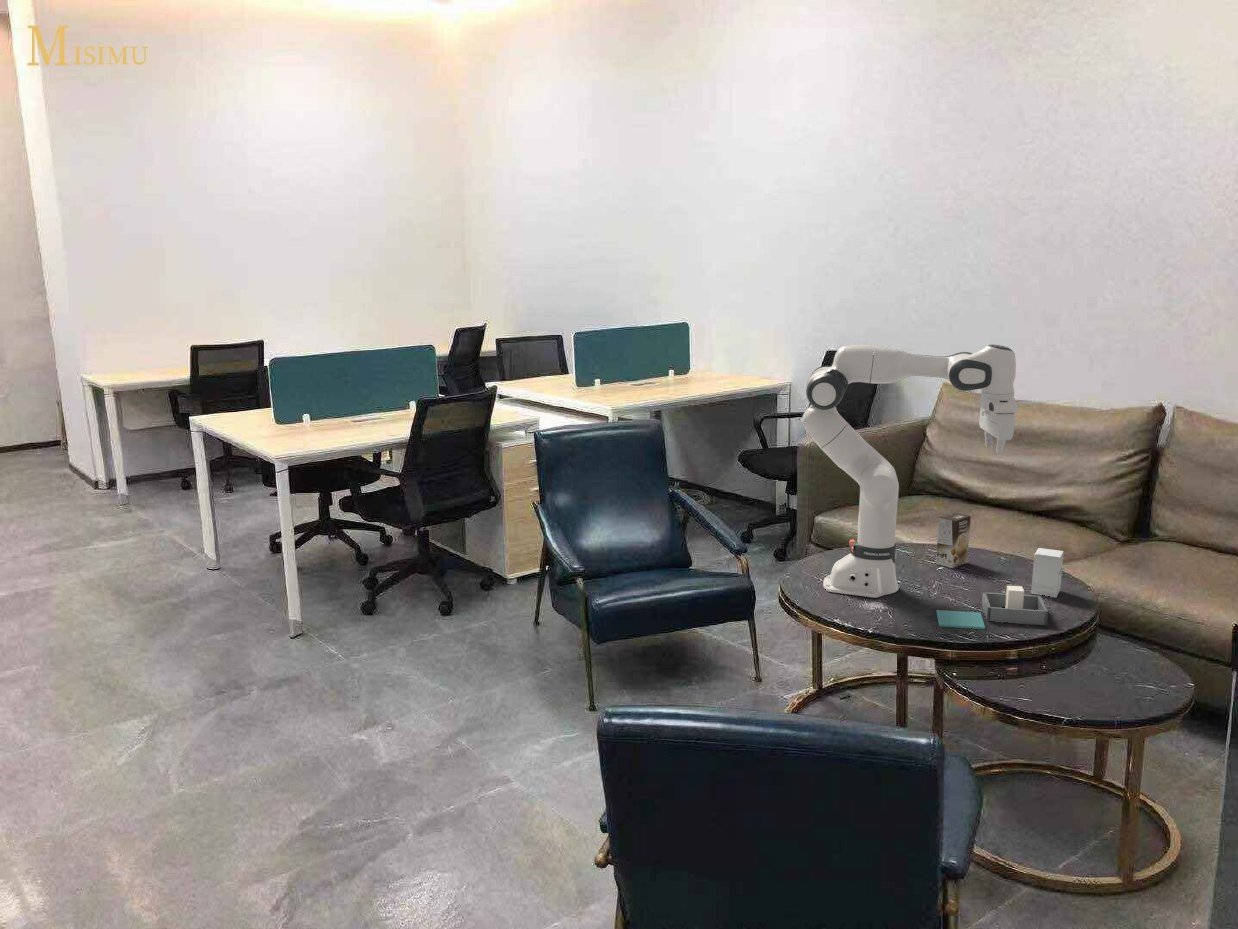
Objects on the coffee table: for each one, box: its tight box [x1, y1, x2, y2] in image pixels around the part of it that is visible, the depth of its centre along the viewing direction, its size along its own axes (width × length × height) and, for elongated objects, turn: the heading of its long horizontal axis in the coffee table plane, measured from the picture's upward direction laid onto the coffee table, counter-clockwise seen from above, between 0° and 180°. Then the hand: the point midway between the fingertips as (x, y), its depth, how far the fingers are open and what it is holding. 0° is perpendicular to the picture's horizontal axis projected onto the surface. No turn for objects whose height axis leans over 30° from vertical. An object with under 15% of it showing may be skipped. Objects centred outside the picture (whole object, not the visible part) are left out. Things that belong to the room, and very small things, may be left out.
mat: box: [935, 609, 986, 630], centre depth 277 cm, size 12×11×1 cm
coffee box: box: [935, 512, 971, 569], centre depth 323 cm, size 9×6×16 cm
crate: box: [981, 592, 1049, 626], centre depth 280 cm, size 16×13×4 cm
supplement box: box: [1030, 547, 1065, 599], centre depth 296 cm, size 7×7×13 cm
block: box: [1005, 585, 1025, 609], centre depth 279 cm, size 4×4×8 cm
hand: (994, 449), depth 285 cm, fingers open, 8 cm apart
